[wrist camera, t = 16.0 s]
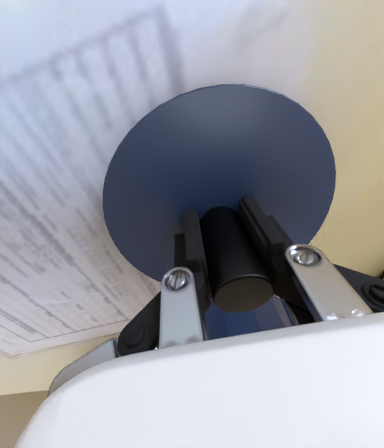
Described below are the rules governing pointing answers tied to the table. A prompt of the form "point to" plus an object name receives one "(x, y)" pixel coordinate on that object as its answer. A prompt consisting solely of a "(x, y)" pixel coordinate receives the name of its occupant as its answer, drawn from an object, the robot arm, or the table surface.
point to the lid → (218, 184)
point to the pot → (246, 320)
